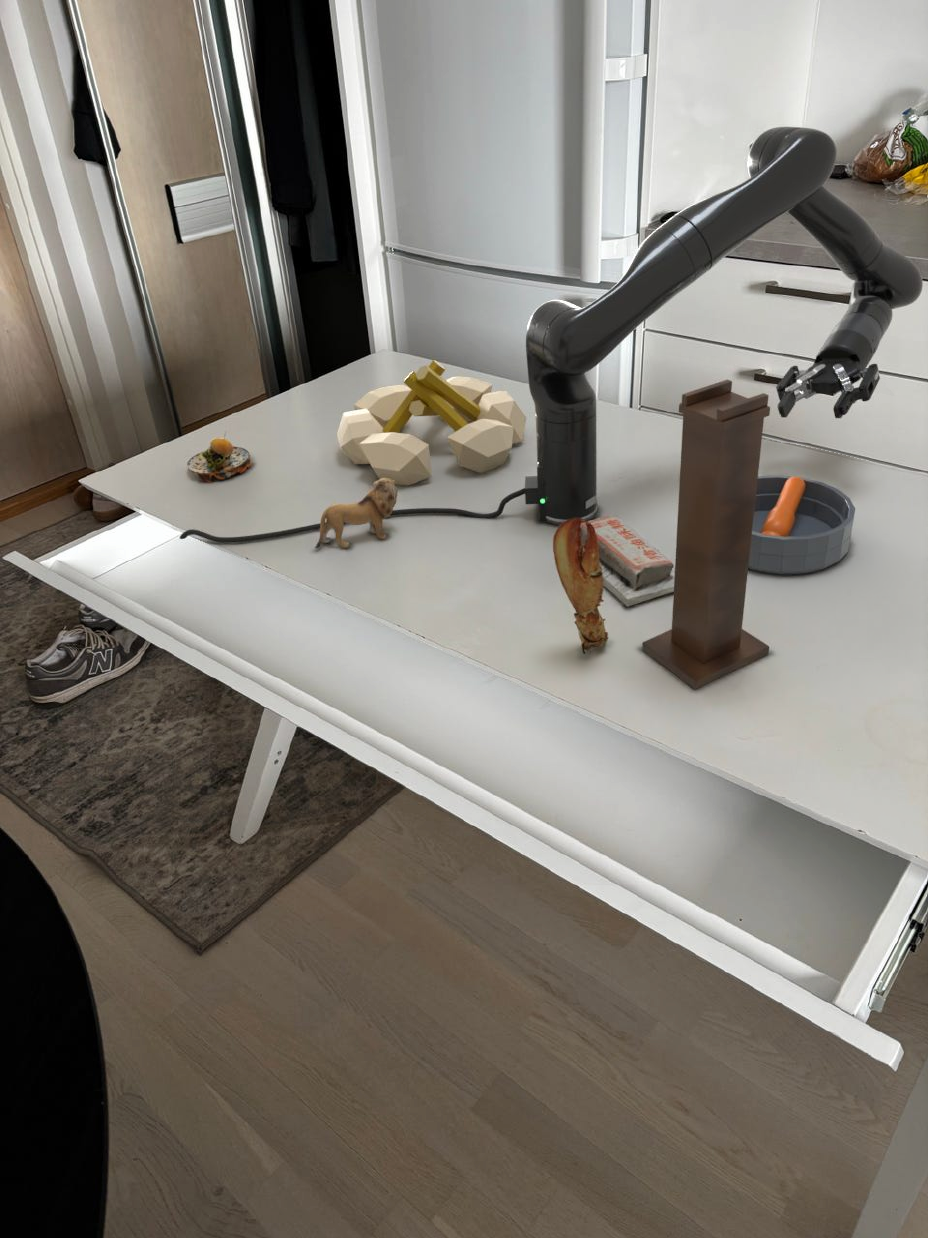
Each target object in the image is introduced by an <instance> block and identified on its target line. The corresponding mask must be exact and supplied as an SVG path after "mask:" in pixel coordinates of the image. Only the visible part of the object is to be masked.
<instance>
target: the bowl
mask: <svg viewBox="0 0 928 1238" xmlns="http://www.w3.org/2000/svg"><path fill="white" fill-rule="evenodd" d="M791 477H795V476H794V475H793V476H792V475H783V474H774V475H773V474H772V475H758V480H757V489H756V499H755V508H754V518H753V527H752V537H751V546H750V556H749V565H748V570H751V571H755V572H758V573H759V572H760V573H765V574H771V575H802V574H809V573H814V572H818V571H821V570H824V569H826V568H828V567H829V568H830V567H831V566H832V565H834V564H836V563H838V562H839V561H841V559H843V557H844V556H845V555H846V554H847V553H848V552H849V548H850V543H851V537H852V532H853V526H854V519H855V514H856V507H855V505H854V504H853V501H852V499H851V498H850V497H849V496H848V495H846V494H845V493H844V492H842V491H841V490H840V489H839V488H837V487H834V486H833V485H829V484H827V483H825V482H823V481H819V480H815V479H811V478H807V477H803V476H799V477H800V478H801V479H803V480H804V482H805V491H804V493H803V495H802V498H801V500H800V502H799V505H798V507H797V510H796V512H795V514H794V515H795V521H794V524H793V526H792V529H791V531H790V534H789V536H788V537H782V536H774V535H766V534H761V533H760V532H761V530H762V528H763V526H764V523H765V521H766V519H767V517H768V514H769V512H770V511H771V510H772V509H773V508H775V505H776V503H777V501H778V499H779V496H780V494H781V492H782V489H783V487H784V485H785V483H786V481H787V480H788V479H789V478H791Z"/></svg>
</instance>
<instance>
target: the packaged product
mask: <svg viewBox="0 0 928 1238" xmlns="http://www.w3.org/2000/svg"><path fill="white" fill-rule="evenodd" d="M588 522H589V523H591V524H592V526H593V527H594V529H595V532H596V535H597V540H598V549H599V563H600V566H601V567H602V573H603V587H605V588H606V589H607V590H609V592H610V593H612V594H613V595H614V596H615V597H616V598H617V599H618V600H619V601H620V602H621V603H622V604H624V605H625V606H626V607H627V608H629V607H631V606H635V605H638V604H639V603H643V602H646V601H648V600H651V599H654V598H658V597H660V596H664V595H667V594H670V593H674V578H675V569H673V568H675V563H673V562H672V561H671V560H670V559H668V558H667V556H665V555H664V554H662V552H660V551H659V550H658V549H657V548H655V547H654V546H653V545H652V544H651V543H649V542H648V541H646V540H645V538H643V537H642V536H641V535H640V534H638V533H637V532H636V531H635V530H633V529H632V528H631V527H630V526H628V525H627V524H626V523H625V522H624V521H623V520H622V519H621V518H619V517H617V516H615V515H614V516H613V515H605V516H601V517H599V518H595V519H591V520H589V521H588ZM580 528H581V529H582V535H581V541H582V542H583V543H584V547H583V548H584V549H586V543H585V540H586V538H587V526H586V524H585V522H584V523H581V526H580Z"/></svg>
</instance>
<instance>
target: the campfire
mask: <svg viewBox="0 0 928 1238" xmlns="http://www.w3.org/2000/svg"><path fill="white" fill-rule="evenodd" d="M445 371H446V368H445V367H444V366H443V365H442V364H441V363H439V362H438V361H437V360H436V359H433V360H432V361H431V362H430V364H429V365H422V366H420V367H419V368H418V370H417V371H414V370H412V371H411V372H410V373H409V374H408V375H407V376H406V377H405V378H404V380H403V381H402V382H403V384H396V385H395V384H394V385H387V386H381V387H379V388H376V389H373V390H370V391H367V392H366V393H365V394H364V395H363V396H362V397H361V398H360V399H359V400H357V401H356V402H355V403H354V404H353V407H354V410H350V411H344V412H343V413H342V416H341V420H340V423H339V426H338V430H337V434H336V438H337V441H338V444H339V448H341V450H342V451H343V452H344V453H345V454H346V455H347V456H348V458H350V460H351V461H352V463H354V465H370V466H371V468H372V469H373V471H374V473H375V474H376V476H377V477H378V480H379V479H381V478H387V479H391V480H394V481H395V485H400V486H406V487H407V486H410V485H413V484H416V483H419V482H421V481H423V480H427V479H428V478H432V477H433V475H432V473H433V472H432V464H431V454H430V446H429V444H428V443H426V442H425V441H423V440H421V439H419V438H418V437H416V436H414V435H412V434H410V433H402V432H401V431H402V430H403V429H405V427H406V424H407V423H408V422H409V421H410V419H411V418H412V416H414V417H435V416H437V417H440V419H442V420H443V421H444V423H446V424H447V425H448V426H449V427H450V428H451V429H452V430H453V431H454V432H453V433H451V434H450V435H449V436H447V437H446V438H447V441H448V444H449V445H450V448H451V451H452V453H453V455H454V457H455V460H456V462H457V464H458V465H459V466H461V467H463V468H466V469H469V470H471V471H474V472H477V473H479V474H484V473H486V472H489V471H490V470H493V469H495V468H498V467H500V466H503V465H505V463H506V461H507V459H508V456H509V455H510V452H511V450H512V448H513V444H517V443H518V444H519V443H522V442H523V439H524V434H525V429H526V428H525V427H526V423H527V416H526V415H525V413H524V412H523V411H522V409H521V408H520V407H519V405H518V404H517V402H516V401H515V400H514V398H513V397H512V396H511V395H510V394H509V393H508V392H507V391H506V390H500V391H493V392H492V389H493V383H490V382H488V381H483V380H481V379H477V378H474V377H470V376H468V377H467V376H458V375H454V376H452V377H449V378H447V379H444V377H442V375H443V374H444V373H445ZM404 384H405V385H404Z"/></svg>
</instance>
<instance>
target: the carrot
mask: <svg viewBox="0 0 928 1238" xmlns="http://www.w3.org/2000/svg"><path fill="white" fill-rule="evenodd" d="M800 477H801V476H794V477H791V478H789V479H788V480H787V481H786V483H785V485H784V487H783V489H782V492H781V494H780V496H779V499H778V501H777V503H776V505H775V508H773V509H772V510H771V511H770V512H769V514H768V517H767V519H766V521H765V523H764V526H763V528H762V530H761V532H760V533H761V534H766V535H774V536H782V537H788V536H789V534H790V531H791V529H792V526H793V524H794V521H795V515H794V514H795V512H796V510H797V507H798V505H799V502H800V500H801V498H802V495H803V493H804V491H805V482H804V480H803V479H801V478H800Z"/></svg>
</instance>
